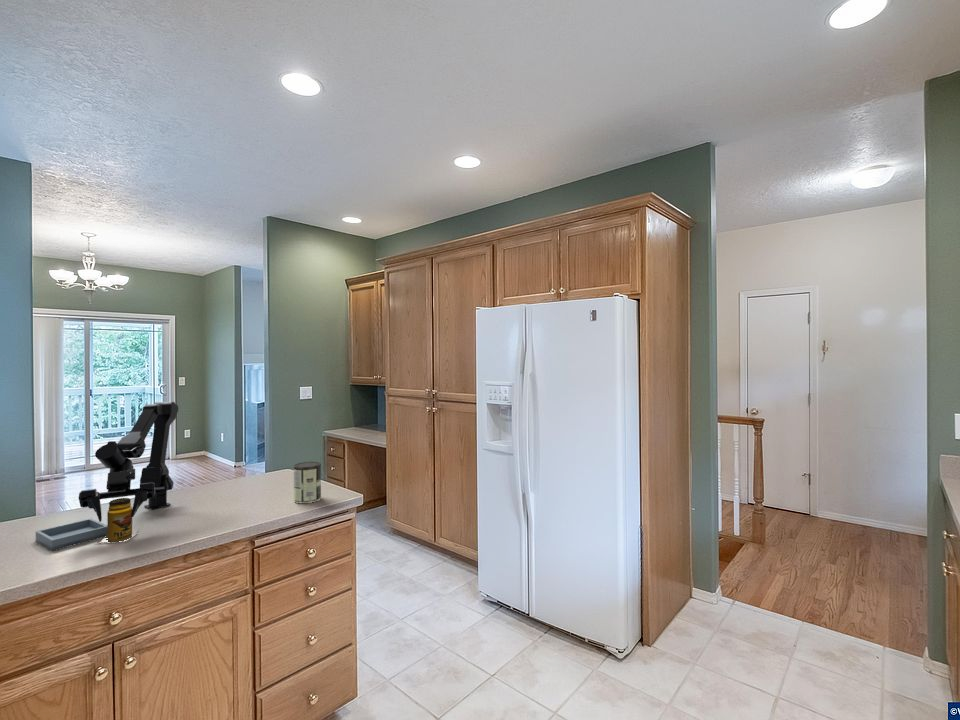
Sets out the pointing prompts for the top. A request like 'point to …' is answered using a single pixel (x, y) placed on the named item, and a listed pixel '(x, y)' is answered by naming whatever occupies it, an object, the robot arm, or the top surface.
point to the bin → (71, 534)
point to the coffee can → (307, 482)
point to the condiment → (119, 520)
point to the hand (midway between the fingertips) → (116, 518)
